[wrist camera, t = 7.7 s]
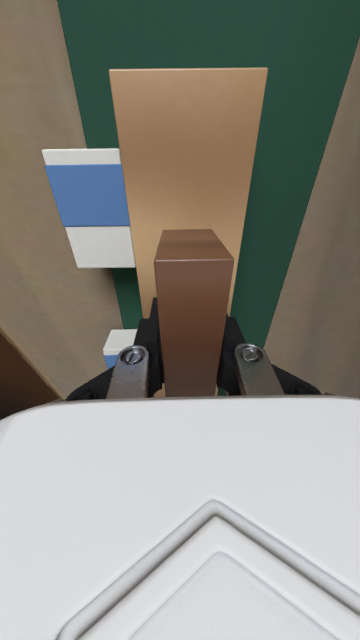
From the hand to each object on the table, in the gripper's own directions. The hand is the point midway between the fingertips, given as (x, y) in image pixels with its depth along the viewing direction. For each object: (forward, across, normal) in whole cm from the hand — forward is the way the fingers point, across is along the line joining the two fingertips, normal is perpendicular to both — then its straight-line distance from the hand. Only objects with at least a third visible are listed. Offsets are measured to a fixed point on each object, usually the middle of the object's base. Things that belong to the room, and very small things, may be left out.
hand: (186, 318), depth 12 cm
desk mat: (+3, -1, 0) cm, 4 cm away
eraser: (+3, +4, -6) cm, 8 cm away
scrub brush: (+3, 0, 0) cm, 3 cm away
